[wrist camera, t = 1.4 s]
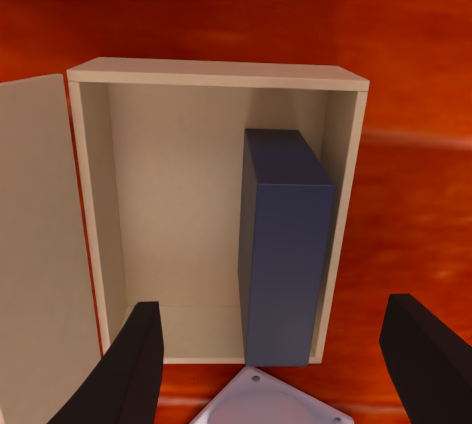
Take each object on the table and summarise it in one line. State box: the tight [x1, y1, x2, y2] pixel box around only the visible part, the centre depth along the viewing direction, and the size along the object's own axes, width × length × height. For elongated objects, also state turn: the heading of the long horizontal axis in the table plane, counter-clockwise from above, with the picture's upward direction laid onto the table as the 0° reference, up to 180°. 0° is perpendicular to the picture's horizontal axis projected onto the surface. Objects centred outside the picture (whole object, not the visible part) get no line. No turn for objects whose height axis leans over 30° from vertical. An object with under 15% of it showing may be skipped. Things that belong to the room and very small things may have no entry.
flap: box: [0, 74, 101, 424], centre depth 15 cm, size 5×14×1 cm
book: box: [237, 128, 336, 366], centre depth 18 cm, size 3×8×7 cm, turn 178°
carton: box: [67, 57, 370, 364], centre depth 20 cm, size 11×14×4 cm
